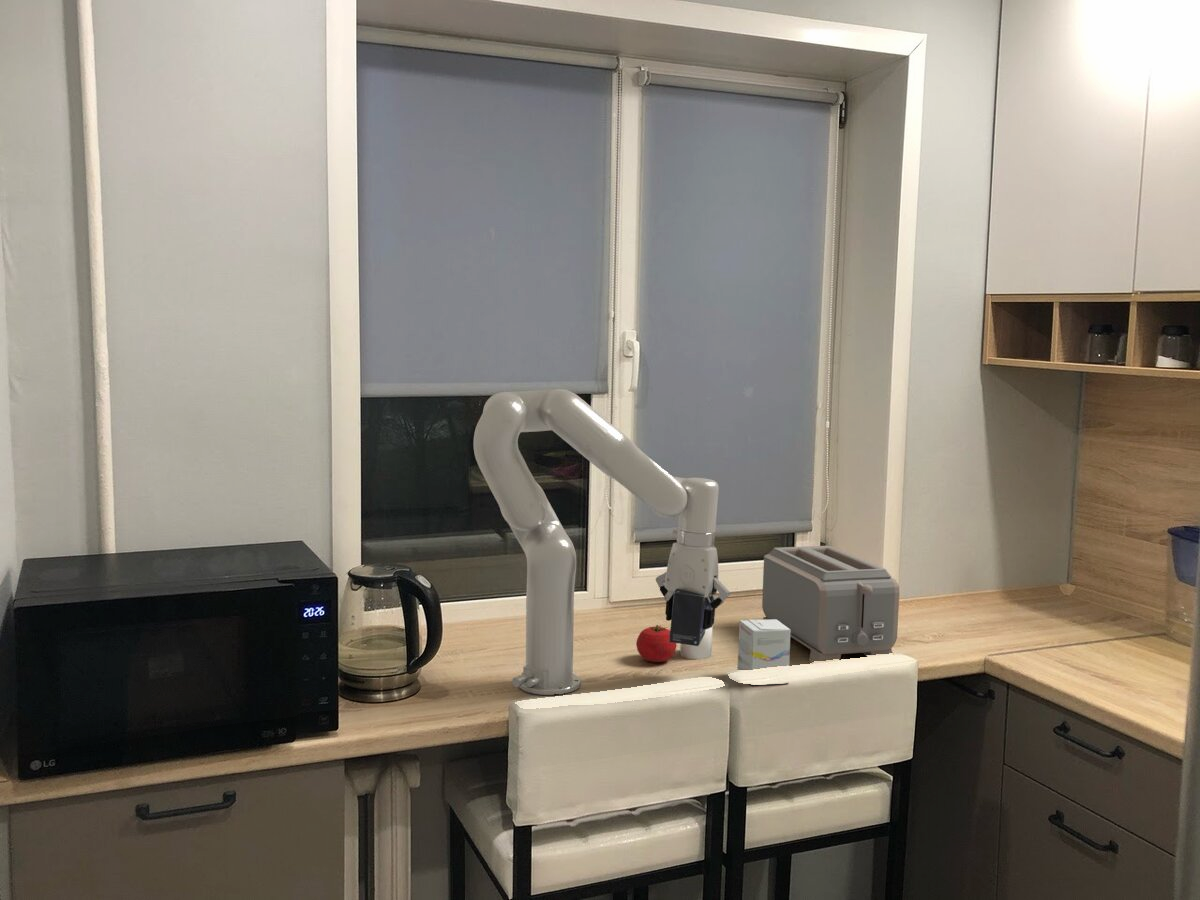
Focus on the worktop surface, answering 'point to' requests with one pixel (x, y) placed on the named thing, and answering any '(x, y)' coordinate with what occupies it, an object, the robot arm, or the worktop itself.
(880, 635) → the toaster
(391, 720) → the worktop surface
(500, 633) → the worktop surface
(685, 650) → the white capsule cylinder
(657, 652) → the tomato
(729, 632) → the worktop surface
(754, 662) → the ink box
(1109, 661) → the worktop surface
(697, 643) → the small box
